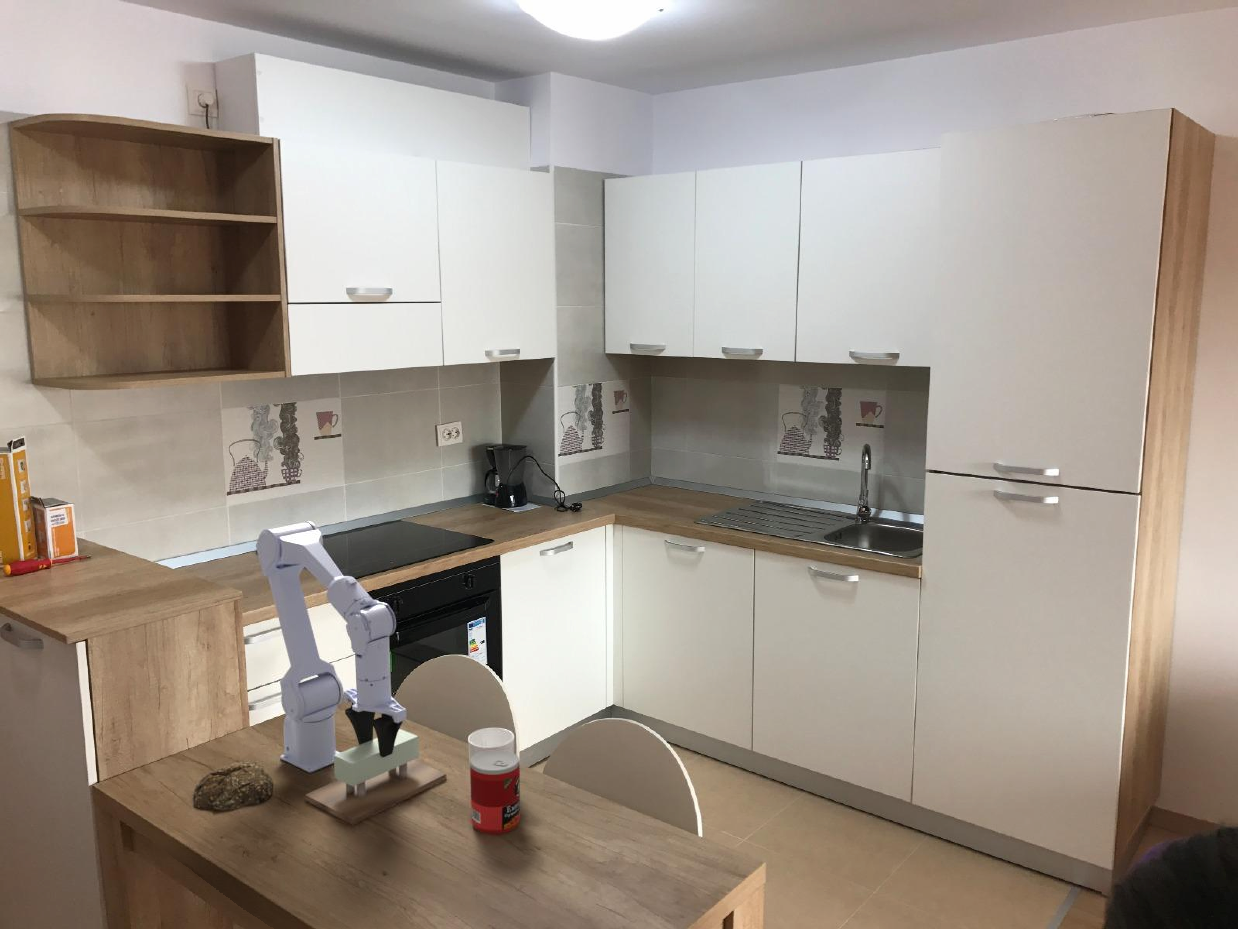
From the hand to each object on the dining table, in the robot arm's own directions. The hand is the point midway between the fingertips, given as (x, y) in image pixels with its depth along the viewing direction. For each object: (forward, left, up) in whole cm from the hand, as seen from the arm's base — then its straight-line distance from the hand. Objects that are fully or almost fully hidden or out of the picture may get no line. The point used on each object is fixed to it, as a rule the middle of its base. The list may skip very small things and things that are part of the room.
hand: (376, 750), depth 170 cm
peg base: (0, 0, -7) cm, 7 cm away
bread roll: (-19, -16, -8) cm, 26 cm away
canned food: (+24, +5, -8) cm, 26 cm away
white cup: (+16, +12, -8) cm, 21 cm away
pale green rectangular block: (0, 0, -3) cm, 3 cm away
